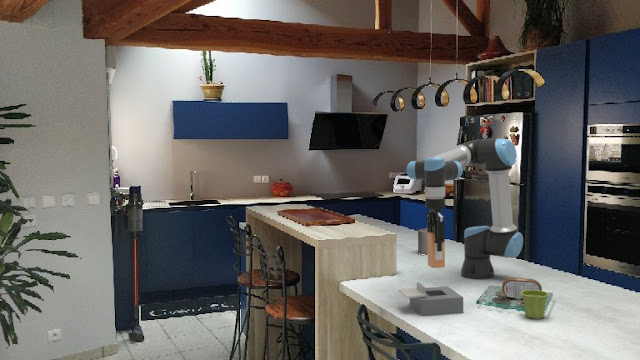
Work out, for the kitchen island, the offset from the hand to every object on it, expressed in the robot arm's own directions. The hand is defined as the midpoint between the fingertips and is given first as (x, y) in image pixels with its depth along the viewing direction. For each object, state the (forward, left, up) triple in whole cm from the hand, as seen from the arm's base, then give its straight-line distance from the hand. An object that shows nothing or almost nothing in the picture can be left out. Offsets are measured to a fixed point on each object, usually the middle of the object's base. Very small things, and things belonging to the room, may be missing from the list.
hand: (436, 257), depth 216 cm
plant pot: (-31, +18, -20) cm, 41 cm away
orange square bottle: (0, 0, -3) cm, 3 cm away
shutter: (+10, 0, -14) cm, 17 cm away
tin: (-37, -3, -20) cm, 42 cm away
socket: (0, 0, -20) cm, 20 cm away
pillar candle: (-29, -97, -20) cm, 103 cm away
